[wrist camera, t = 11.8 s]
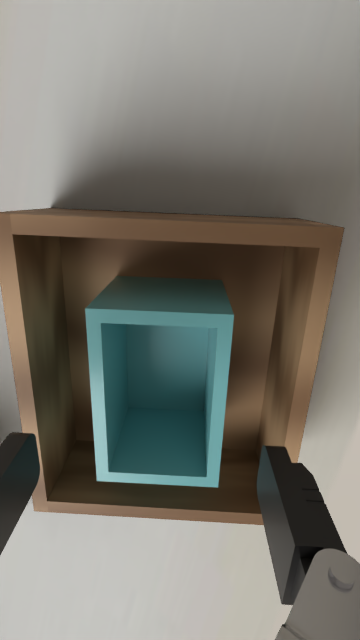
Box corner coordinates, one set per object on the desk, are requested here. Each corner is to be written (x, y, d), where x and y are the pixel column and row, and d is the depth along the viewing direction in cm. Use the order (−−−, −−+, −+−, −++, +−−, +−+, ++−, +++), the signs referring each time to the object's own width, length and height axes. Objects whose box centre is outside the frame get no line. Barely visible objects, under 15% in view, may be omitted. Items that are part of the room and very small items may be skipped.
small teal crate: (116, 275, 19) (85, 308, 14) (221, 280, 19) (234, 314, 13) (121, 409, 22) (96, 480, 17) (211, 413, 22) (218, 487, 17)
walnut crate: (49, 208, 19) (-11, 212, 13) (298, 218, 19) (344, 227, 13) (70, 439, 25) (34, 511, 19) (263, 449, 24) (284, 526, 19)
